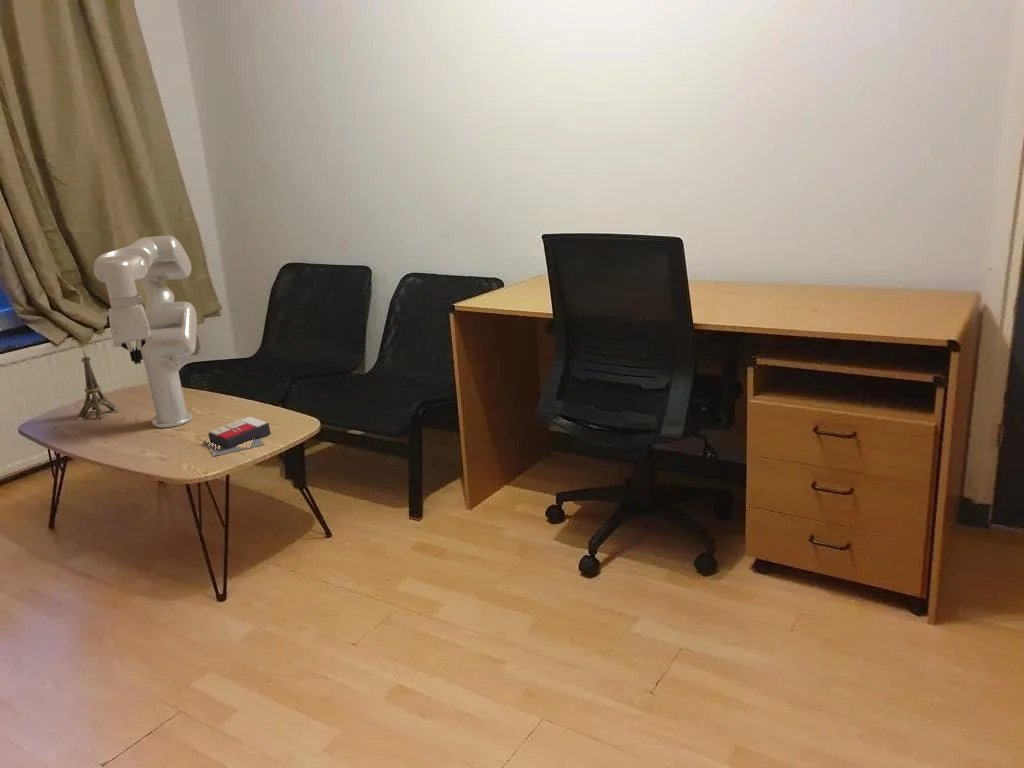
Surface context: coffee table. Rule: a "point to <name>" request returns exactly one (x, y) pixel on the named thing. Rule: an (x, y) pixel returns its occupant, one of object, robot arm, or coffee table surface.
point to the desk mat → (223, 450)
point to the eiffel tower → (93, 393)
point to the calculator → (239, 432)
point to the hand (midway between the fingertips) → (137, 362)
